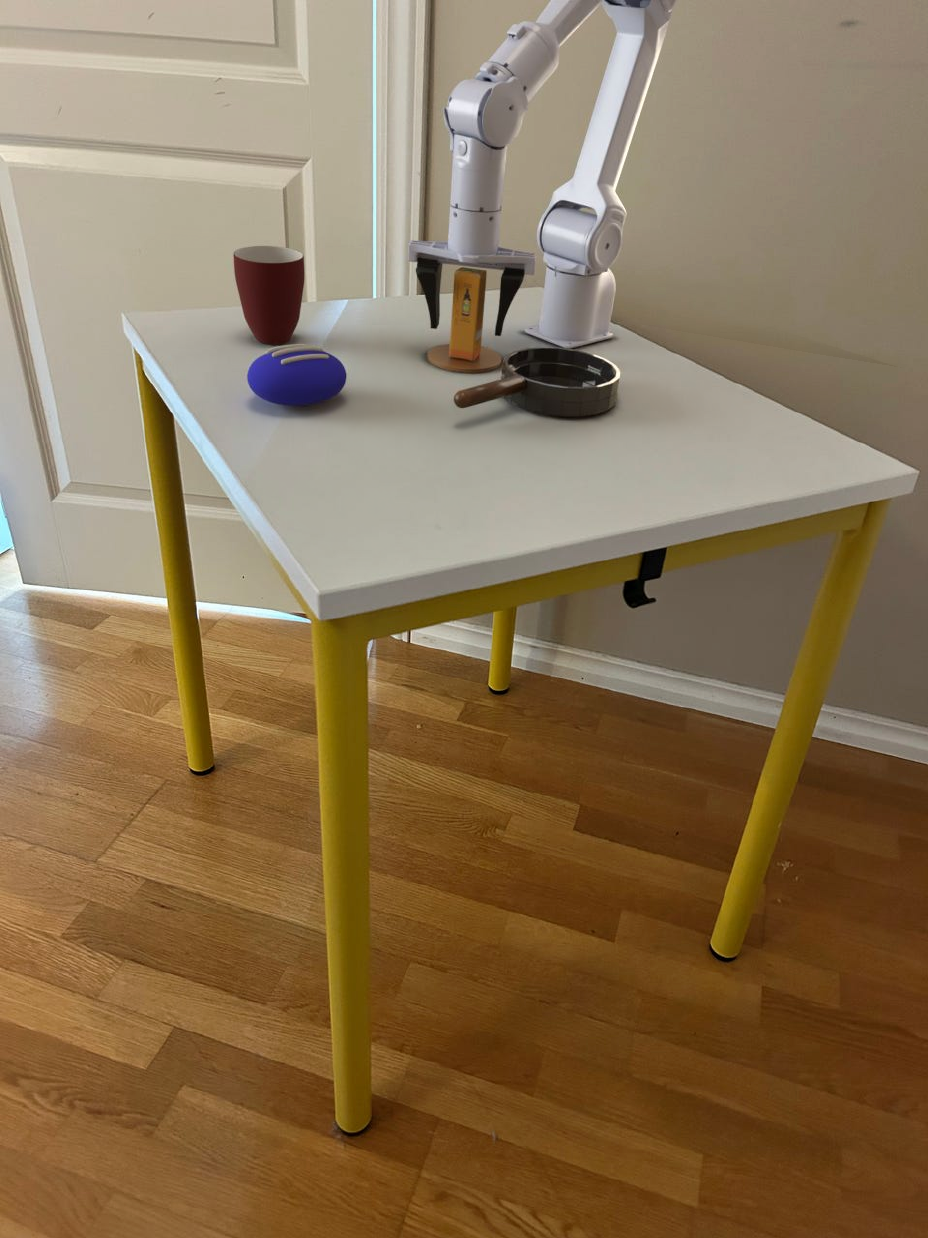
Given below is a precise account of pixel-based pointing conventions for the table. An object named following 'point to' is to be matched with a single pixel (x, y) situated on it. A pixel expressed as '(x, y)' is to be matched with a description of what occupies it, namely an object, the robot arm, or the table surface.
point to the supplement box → (467, 313)
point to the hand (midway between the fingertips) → (466, 329)
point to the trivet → (464, 360)
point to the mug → (270, 290)
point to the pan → (562, 381)
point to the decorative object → (296, 375)
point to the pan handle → (489, 391)
